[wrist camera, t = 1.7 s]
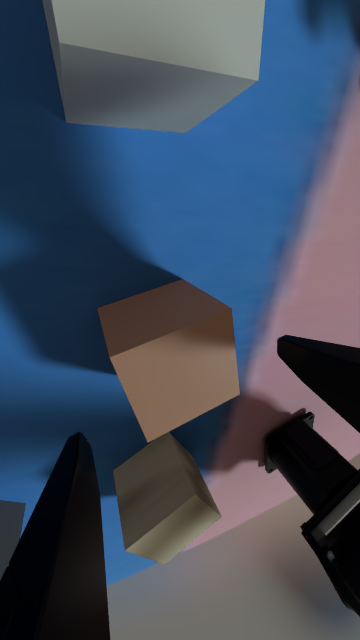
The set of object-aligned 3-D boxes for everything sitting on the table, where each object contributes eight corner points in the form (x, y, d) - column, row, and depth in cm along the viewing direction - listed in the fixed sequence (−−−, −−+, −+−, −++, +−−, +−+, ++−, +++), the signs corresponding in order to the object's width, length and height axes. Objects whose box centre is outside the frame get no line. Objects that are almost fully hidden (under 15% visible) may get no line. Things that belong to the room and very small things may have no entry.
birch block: (191, 455, 21) (221, 516, 16) (145, 491, 20) (164, 564, 16) (167, 429, 18) (195, 494, 14) (112, 469, 17) (125, 550, 13)
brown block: (195, 346, 16) (239, 394, 12) (126, 376, 14) (147, 442, 10) (182, 278, 13) (231, 308, 9) (97, 307, 12) (109, 357, 8)
